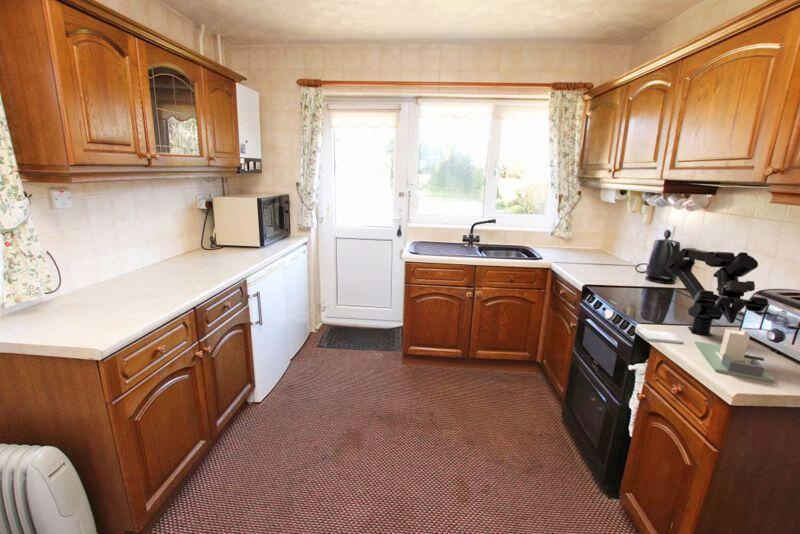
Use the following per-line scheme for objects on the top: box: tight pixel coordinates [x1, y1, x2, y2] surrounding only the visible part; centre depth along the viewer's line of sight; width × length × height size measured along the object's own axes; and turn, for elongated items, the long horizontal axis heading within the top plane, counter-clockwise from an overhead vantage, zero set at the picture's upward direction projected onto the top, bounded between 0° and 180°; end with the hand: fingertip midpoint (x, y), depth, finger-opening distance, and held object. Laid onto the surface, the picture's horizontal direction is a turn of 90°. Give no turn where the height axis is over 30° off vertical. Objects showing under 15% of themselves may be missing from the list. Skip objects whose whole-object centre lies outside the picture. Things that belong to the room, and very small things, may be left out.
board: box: [694, 341, 776, 383], centre depth 124 cm, size 22×14×2 cm, turn 156°
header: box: [721, 354, 765, 377], centre depth 116 cm, size 6×8×3 cm
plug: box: [719, 327, 765, 362], centre depth 122 cm, size 4×10×10 cm, turn 66°
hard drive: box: [635, 329, 684, 344], centre depth 141 cm, size 2×8×12 cm
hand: (731, 322), depth 127 cm, fingers closed
